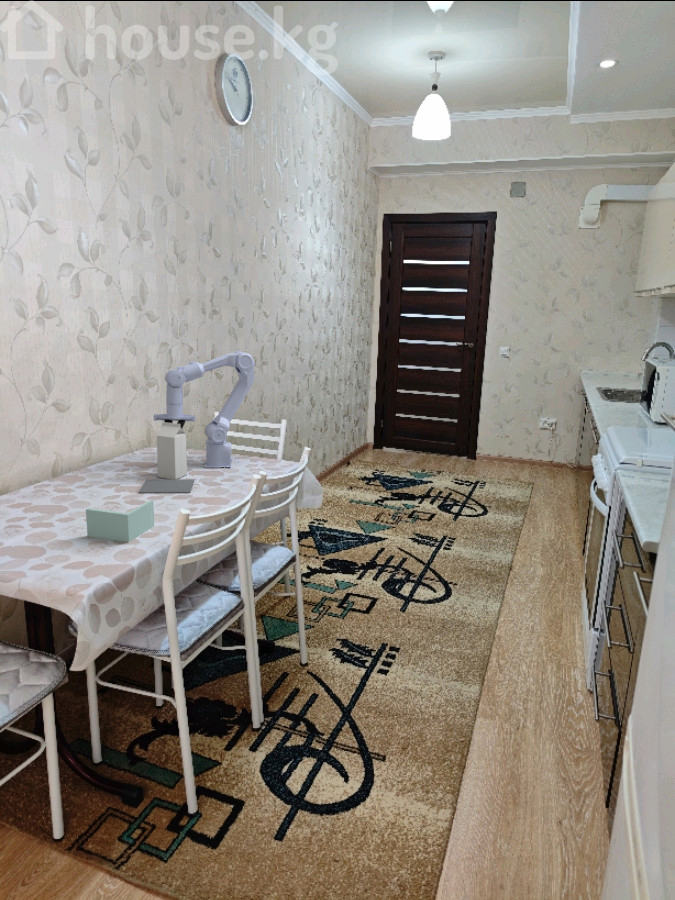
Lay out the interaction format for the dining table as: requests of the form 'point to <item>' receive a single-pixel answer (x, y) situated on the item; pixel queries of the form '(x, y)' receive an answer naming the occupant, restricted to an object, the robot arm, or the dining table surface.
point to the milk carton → (171, 451)
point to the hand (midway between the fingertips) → (174, 440)
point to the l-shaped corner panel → (120, 523)
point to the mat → (167, 486)
